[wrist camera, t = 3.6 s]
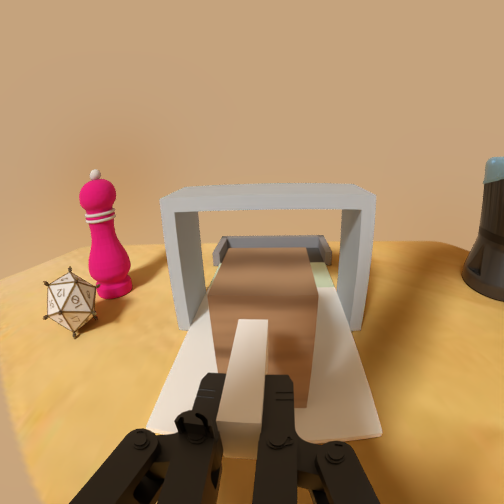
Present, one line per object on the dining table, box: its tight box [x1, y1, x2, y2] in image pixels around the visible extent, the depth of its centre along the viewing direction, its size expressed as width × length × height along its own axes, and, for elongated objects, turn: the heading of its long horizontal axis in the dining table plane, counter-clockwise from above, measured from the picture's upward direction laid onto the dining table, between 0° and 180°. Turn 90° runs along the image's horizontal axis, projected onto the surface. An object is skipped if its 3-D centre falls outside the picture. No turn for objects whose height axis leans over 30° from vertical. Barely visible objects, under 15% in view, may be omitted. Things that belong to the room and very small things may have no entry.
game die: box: [43, 267, 101, 339], centre depth 32 cm, size 9×8×10 cm
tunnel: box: [146, 183, 383, 444], centre depth 28 cm, size 26×22×16 cm
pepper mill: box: [79, 170, 132, 299], centre depth 41 cm, size 7×7×20 cm
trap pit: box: [213, 235, 332, 266], centre depth 57 cm, size 10×21×2 cm, turn 86°
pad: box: [209, 262, 334, 288], centre depth 47 cm, size 12×19×1 cm, turn 86°
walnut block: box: [207, 247, 319, 408], centre depth 24 cm, size 9×7×11 cm
